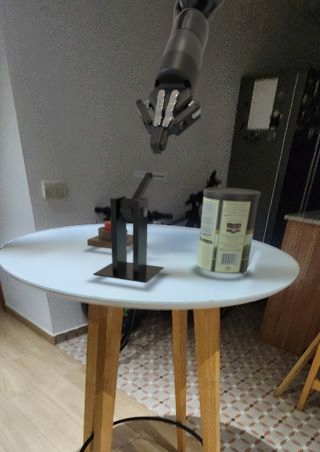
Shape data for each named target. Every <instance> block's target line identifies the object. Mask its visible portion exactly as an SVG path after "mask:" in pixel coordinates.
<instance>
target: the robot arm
mask: <svg viewBox="0 0 320 452" xmlns="http://www.w3.org/2000/svg"><path fill="white" fill-rule="evenodd" d="M225 1H226V0H176V1H175V3H174V7H173V15H172V29H171V32H170V35H169V38H168V41H167V43H166V44H165V48H164V50H163V53H162V57H161V60H160V63H159V66H158V69H157V73H156V77H155V79H154V86H153V89H152V91H151V92H150V93H149V95H148V98H147V99H146V100H144V101H143V99H141V98H138V99H136V100H135V105H136V109H137V113H138V117H139V118H140V120H141V122H142V124H143V126H144V128H145V130H146V132H147V133H148V135H150V138H149V146H150V151H152V154H154V155H162V153H163V152H164V151H165V150H166V149H167V146H168V142H169V139H170V138H171V136H172V135H174V136H176V137H178V136H181V134H183V133H184V132H185V131H187V129H189V128H191V126H193V125H194V124H195V123H196V122H198V121H199V120H200V119H201V118H202V109H201V102H200V101H199V100H195V101H194V99H193V98H194V94H195V91H196V88H197V84H198V80H199V78H200V75H201V73H202V65H203V58H204V55H205V52H206V48H207V46H208V45H207V44H208V39H209V31H210V28H209V23H210V21H212V19H213V18H214V16H215V15H216V14H217V12H218V11H219V10H220V8H221V7H222V6H223V5H224V3H225ZM150 109H151V110H150ZM151 111H152V112H153V114H154V119H153V118H152V116H151V114H150V112H151Z"/></svg>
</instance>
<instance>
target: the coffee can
mask: <svg viewBox="0 0 320 452" xmlns="http://www.w3.org/2000/svg"><path fill="white" fill-rule="evenodd" d="M202 193H203V198H202V208H201V219H200V230H199V231H200V232H199V242H198V251H197V262H196V266H197V267H198V268H200V269H202V270H204V271H208V272H212V273H218V274H240V273H243V272H244V273H243V275H242V277H244V276H246V275H247V272H248V265H249V259H250V254H251V248H252V243H253V236H254V232H255V231H254V230H255V225H256V220H257V214H258V209H259V202H260V198H261V196H262V192H261V191H259V190H254V189H250V188H249V189H248V188H239V187H218V186H217V187H216V186H215V187H214V186H213V187H205V188H203V192H202Z"/></svg>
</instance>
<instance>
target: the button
mask: <svg viewBox="0 0 320 452" xmlns="http://www.w3.org/2000/svg"><path fill="white" fill-rule="evenodd" d="M104 226H105V230H108V231H111V220H106V221H104Z"/></svg>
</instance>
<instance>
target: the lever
mask: <svg viewBox="0 0 320 452" xmlns="http://www.w3.org/2000/svg"><path fill="white" fill-rule="evenodd" d="M167 174H168V173H167V171H162V170H161V171H160V170H149V169H134V170H133V177H134V178H141V181H140V183H139V184H138V186H137V187H136V190H135V192H134V193H133V195H132V197H131V198H128V197H126V198H125V199H124V201H123V203H122V204H121V206H120V208H119V209H120V214H121V219H122V221H123V222H126V223H132V224H133V200H137V199H140V198H143V196H144V194H145V193H146V191H147V189H148V187H149V186H150V184H151V182H152V180H153V179H154V180H167V176H168V175H167Z"/></svg>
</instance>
